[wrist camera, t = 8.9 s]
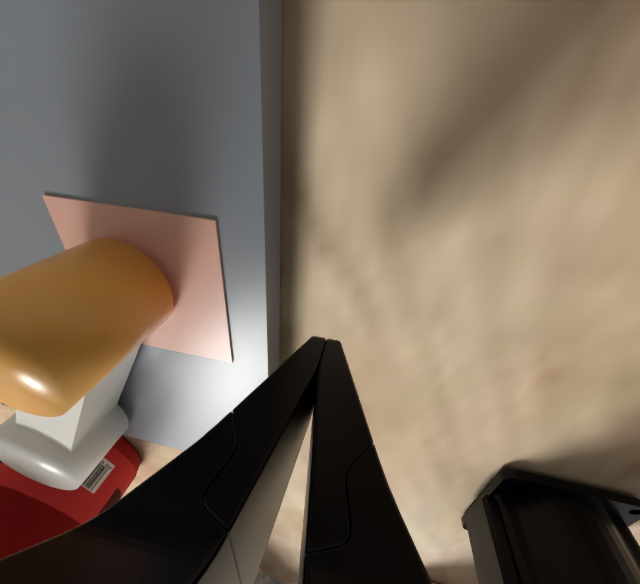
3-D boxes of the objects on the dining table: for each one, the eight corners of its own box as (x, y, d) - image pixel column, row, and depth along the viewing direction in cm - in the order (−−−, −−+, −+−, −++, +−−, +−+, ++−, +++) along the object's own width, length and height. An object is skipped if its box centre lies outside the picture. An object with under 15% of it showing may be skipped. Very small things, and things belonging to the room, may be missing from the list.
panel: (282, -17, 7) (255, -54, 5) (279, 445, 17) (269, 474, 16) (-282, -41, 9) (-410, -71, 7) (22, 383, 20) (-6, 404, 18)
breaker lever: (120, 442, 17) (55, 522, 13) (49, 405, 16) (-39, 480, 13) (197, 287, 9) (95, 378, 6) (72, 207, 9) (-121, 261, 5)
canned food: (33, 399, 21) (-251, 626, 11) (133, 429, 20) (-81, 693, 11) (67, 454, 25) (-120, 652, 16) (151, 479, 24) (9, 701, 15)
